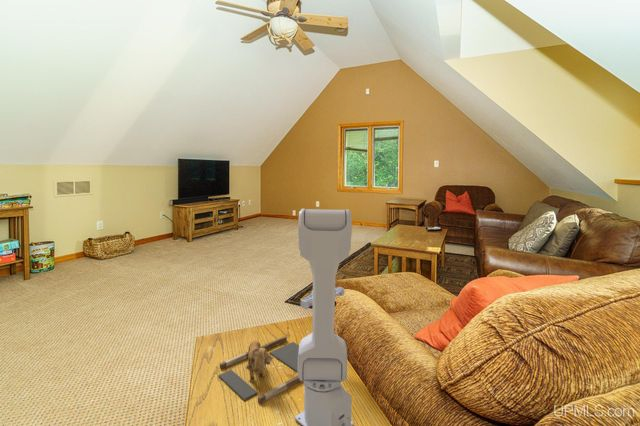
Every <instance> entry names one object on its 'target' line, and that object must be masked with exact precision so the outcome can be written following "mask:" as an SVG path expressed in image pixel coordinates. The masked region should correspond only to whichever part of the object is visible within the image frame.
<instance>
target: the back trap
mask: <svg viewBox="0 0 640 426" xmlns="http://www.w3.org/2000/svg"><path fill="white" fill-rule="evenodd" d="M298 353H299V344H297V343H295V342H294V341H292V342H290V343H287V344H285V345H283V346H281V347H279V348H277V349H274V350H272V351H270V352H269V355H270V356H271V357H273V358H276V359H277V360H278V361H279V362H281V363H283V364H284V365H285V366H287V367H288V368H290V369H292V370H293V371H294V372H295V373H298Z"/></svg>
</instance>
